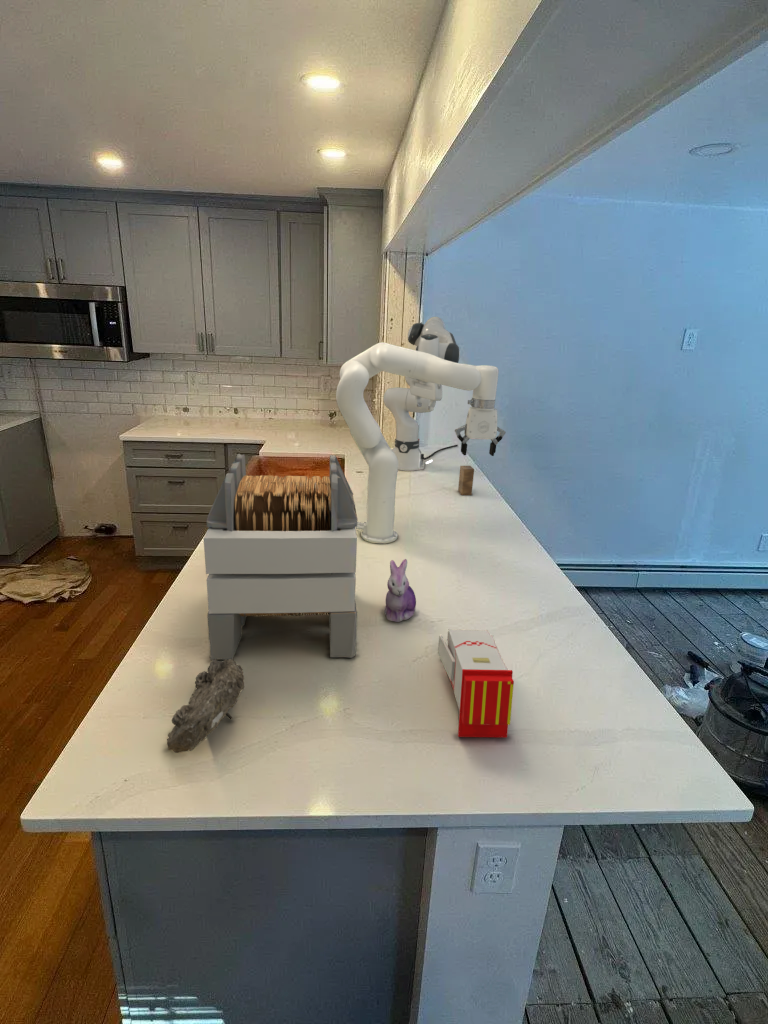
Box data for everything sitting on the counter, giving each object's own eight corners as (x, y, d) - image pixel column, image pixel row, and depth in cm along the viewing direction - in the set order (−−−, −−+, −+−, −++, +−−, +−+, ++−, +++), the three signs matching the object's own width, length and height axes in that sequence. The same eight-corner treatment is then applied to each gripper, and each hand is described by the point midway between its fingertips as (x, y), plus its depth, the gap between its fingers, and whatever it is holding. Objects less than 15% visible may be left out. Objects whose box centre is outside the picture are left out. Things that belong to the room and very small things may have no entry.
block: (461, 495, 245) (464, 469, 241) (457, 491, 250) (460, 465, 246) (471, 495, 246) (474, 469, 242) (467, 491, 251) (470, 465, 247)
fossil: (192, 660, 117) (244, 628, 112) (224, 691, 120) (276, 661, 115) (142, 746, 98) (202, 712, 93) (182, 779, 101) (242, 748, 96)
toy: (488, 613, 130) (523, 677, 101) (484, 667, 133) (517, 744, 104) (435, 612, 130) (455, 676, 101) (432, 666, 133) (451, 743, 103)
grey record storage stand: (230, 589, 156) (222, 444, 142) (349, 588, 159) (352, 446, 146) (207, 662, 124) (194, 484, 110) (356, 658, 128) (362, 486, 114)
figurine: (392, 627, 141) (395, 572, 136) (374, 608, 149) (376, 556, 144) (425, 619, 145) (429, 566, 140) (405, 601, 154) (408, 550, 149)
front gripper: (460, 405, 182) (455, 457, 188) (512, 406, 184) (505, 458, 190) (454, 401, 189) (450, 451, 195) (504, 403, 191) (498, 452, 197)
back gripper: (447, 378, 229) (444, 412, 234) (420, 372, 246) (418, 404, 251) (434, 378, 226) (431, 412, 231) (408, 372, 243) (406, 405, 248)
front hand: (477, 454), depth 192 cm, fingers open, 9 cm apart
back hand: (424, 408), depth 241 cm, fingers open, 8 cm apart
